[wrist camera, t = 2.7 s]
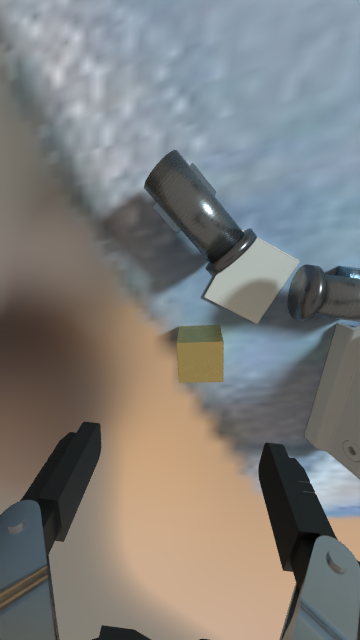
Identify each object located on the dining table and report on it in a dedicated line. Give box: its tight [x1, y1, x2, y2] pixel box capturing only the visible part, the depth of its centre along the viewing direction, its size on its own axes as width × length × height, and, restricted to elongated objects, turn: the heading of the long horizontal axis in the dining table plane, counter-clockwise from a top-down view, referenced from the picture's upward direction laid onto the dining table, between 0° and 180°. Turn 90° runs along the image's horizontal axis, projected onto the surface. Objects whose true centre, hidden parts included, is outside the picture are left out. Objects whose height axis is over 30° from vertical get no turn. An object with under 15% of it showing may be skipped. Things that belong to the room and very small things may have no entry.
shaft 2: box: [288, 265, 360, 321], centre depth 22 cm, size 9×5×6 cm, turn 83°
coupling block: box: [176, 325, 223, 382], centre depth 26 cm, size 4×4×4 cm
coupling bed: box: [204, 229, 300, 324], centre depth 25 cm, size 7×8×1 cm
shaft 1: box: [144, 150, 257, 276], centre depth 20 cm, size 9×5×6 cm, turn 43°
